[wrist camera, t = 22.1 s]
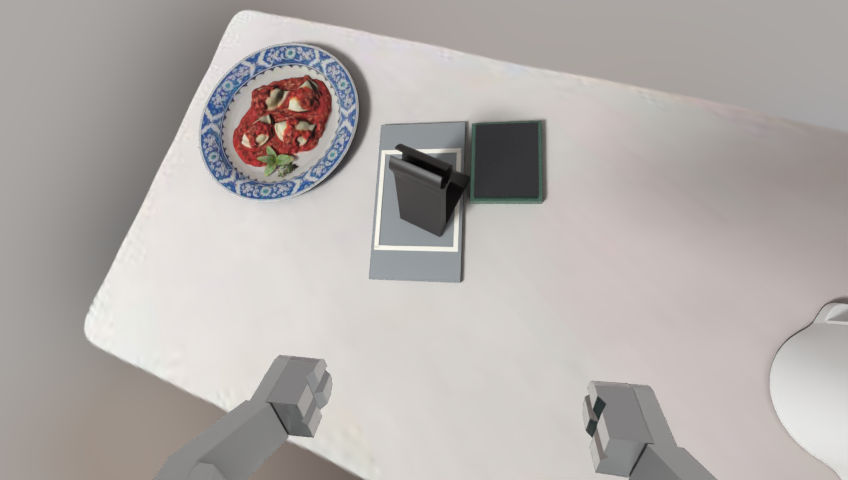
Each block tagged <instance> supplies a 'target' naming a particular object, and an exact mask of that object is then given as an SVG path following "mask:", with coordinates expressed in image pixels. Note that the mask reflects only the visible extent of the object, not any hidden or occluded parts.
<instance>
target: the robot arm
mask: <svg viewBox="0 0 848 480" xmlns="http://www.w3.org/2000/svg"><path fill="white" fill-rule="evenodd" d="M326 367H327V364H326V362H325V360H324V359H316V358H306V357H296V356H285V355H279V356H278V357H277V358H276V359H275V360H274V361H273V363H272V365H271V366H270V368H269V370H268V371H267V373H266V375H265V376H264V378H263V380H262V381H261V383H260V385H259V386H258V388H257V390H256V391H255V393H254V395H253V396H252V398H251V399H250V401H248V400H245V401H244V402H243V403H241V404H240V405H239V406H237V407H236V408H235V409H233V410H232V411H230V412H229V413H228V414H226V415H225V416H224V417H222V418H221V419H220V420H219V421H217V422H216V423H214V424H213V425H212V426H210V427H209V428H207V429H206V430H205V431H203V432H202V433H201V434H199V435H198V436H197V437H195V438H194V439H193V440H191V441H190V442H189V443H187V444H186V445H185V446H183V447H182V448H180V449H179V450H178V451H176V452H175V453H174V454H172V455H171V456H170V457H169V458H168V459H167V461H166V462H165V464H164V465H163V467H162V468H161V469H160V471H159V472H158V474H157V475H156V476H155V478H154V479H153V480H247V479H248V478H249V477H250V476H251V475H252V474H253V473H254V472H255V471H256V470H257V469H258V467H260V466H261V465H262V464H263V463H264V462H265V461H266V459H267V458H268V457H269V456H270V455H271V454H272V453H273V452H274V451H275V450H276V449H277V448H278V447H279V446H280V445H281V444H282V443H283V442H284V441H285V440H286V439H287V438H288V437H289V436H288V435H292V436H302V437H313V438H314V435H315V433H316V430H317V428H318V425H319V423H320V420H321V418H322V415H321V411H320V409H321V408H323V407H324V406H325V405H326V404H327V403H328V400H329V398H330V395H331V390H332V378H331V375H330V374H329V373H328V372H327V371H326V370H325V369H326ZM588 392H589V395H587V396H586V397H585V398H584V402H583V419H584V425H585V430H586V432H587V433H588V434H589V435H590V436H591V437H592V441H591V444H590V452H591V456H592V460H593V464H594V469H595V473H602V474H609V475H615V476H622V477H629V480H717V479H716V478H715V477H714V476H713V475H712V474H711V473H710V472H709V471H708V470H707V469H706V468H705V467H703V466H702V465H701V464H700V463H699V462H698V461H697V460H696V459H695V458H694V457H693V456H692V455H691V454H690V453H689V452H688V451H687V450H686V449H685V448H681V447H677V444H676V442H675V440H674V438H673V435H672V433H671V431H670V428H669V426H668V424H667V421H666V419H665V417H664V414H663V412H662V410H661V407H660V405H659V403H658V400H657V398H656V396H655V393H654V391H653V389H652V388H651V387H650V386H648V385H639V384H628V383H617V382H602V381H590V382H589V384H588ZM770 392H771V397H772V401H773V405H774V407H775V410H776V412H777V414H778V417H779V418H780V420H781V422H782V424H783V425H784V427H785V428H786V430H787V431H788V432H789V434H790V435H791V436H792V437H793V438H794V439H795V440H796V441H797V442H798V443H799V444H800V445H801V446H802V447H803V448H804V449H805V450H806V451H808V452H809V453H810V454H812V455H813V456H814V457H816V458H818V459H819V460H821V461H822V462H824V463H825V464H827V465H828V466H829V467H831V468H832V469H833V470H834V471H835V472H836V473H837V474H838V476H839V477H840V478H841V479H842V480H848V304H844V303H829V304H827V305H825V306H824V307H823V308H822V310H821V311H820V312H819V314H818V315H817V317H816V319H815V320H814V322H813V323H812V324H811V325H810V326H809V327H807V328H806V329H804V330H802V331H801V332H799V333H797V334H796V335H794V336H793V337H791V338H790V339H789V340H788V341H787V342H786V343H785V344H784V345H783V346H782V347H781V348H780V350H779V351H778V353H777V355H776V357H775V359H774V361H773V364H772V368H771V373H770Z"/></svg>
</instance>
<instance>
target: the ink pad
mask: <svg viewBox="0 0 848 480" xmlns="http://www.w3.org/2000/svg"><path fill="white" fill-rule="evenodd" d="M541 203H542V127H541V121H528V122H501V123H475V124H472V154H471V190H470V204H541Z"/></svg>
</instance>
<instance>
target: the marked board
mask: <svg viewBox="0 0 848 480" xmlns="http://www.w3.org/2000/svg"><path fill="white" fill-rule="evenodd" d="M398 144H403V145H406V146H408V147H411V148H413V149H415V150H418V151H420V152H423V153H425V154H428V155H430V156H432V157H435V158H437V159H440V160H442V161H444V162H447V163H449V164H452V166H453V170H456V171H458V172H460V173H463V174H464V153H465V122H454V123H428V124H403V125H381V134H380V147H379V159H378V172H377V184H376V196H375V209H374V221H373V234H372V246H371V259H370V271H369V279H378V280H404V281H429V282H454V283H460V279H461V248H462V216H463V194H462V196H461V198H460V200H459V202H458V204H457V206H456V207H455V209H454V211H453V213H452V215H451V217H450V219H449V221H448V223H447V225H446V227H445V229H444V231H443V233H442V235H441V237H438V236H436V235H434V234H432V233H430V232H428V231H426V230H424V229H421V228H419V227H417V226H415V225H413V224H411V223H409V222H407V221H405V220H403V219H400V213H399V206H398V198H397V191H396V184H395V177H394V173H393V172H392V171H391V170H390V169H389V159H390V156H391V155H392V156H394V157H396V158H399V159H402V152H400V151H398V150H396V149H395V147H396V146H397V145H398Z"/></svg>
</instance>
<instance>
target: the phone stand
mask: <svg viewBox="0 0 848 480" xmlns="http://www.w3.org/2000/svg"><path fill="white" fill-rule="evenodd" d="M395 149H396V150H398V151H400V152H402V159H399V158H396V157H394V156H392V155H391V156H390V159H389V169H390V170H391V171H392V172H393V173H394V177H395V184H396V191H397V198H398V206H399V213H400V219H403V220H405V221H407V222H409V223H411V224H413V225H415V226H417V227H419V228H421V229H424V230H426V231H428V232H430V233H432V234H434V235H436V236H438V237H441V235H442V233H443V231H444V229H445V227H446V225H447V223H448V221H449V219H450V217H451V215H452V213H453V211H454V209H455V207H456V206H457V204H458V202H459V200H460V198H461V196H462V194H463V192H464V190H465V188H466V186H467V184H468V182H469V180H470V176H468V175H465V174H463V173H460V172H458V171H456V170H453V166H452V164H449V163H447V162H444V161H442V160H440V159H437V158H435V157H432V156H430V155H428V154H425V153H423V152H420V151H418V150H415V149H413V148H411V147H408V146H406V145H403V144H398V145H397V146H396V147H395Z"/></svg>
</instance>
